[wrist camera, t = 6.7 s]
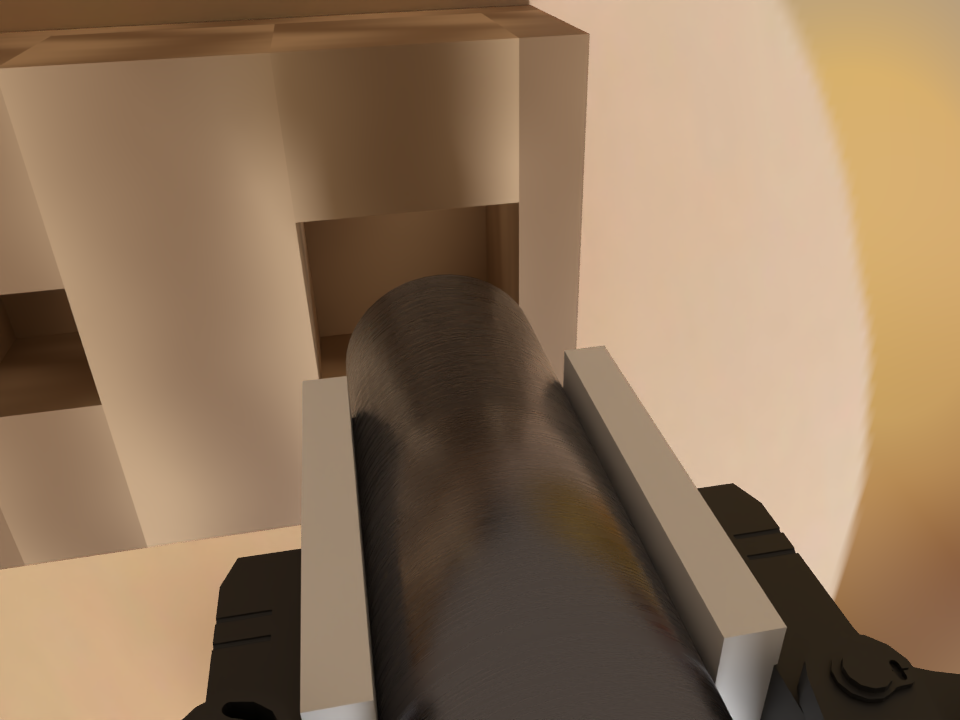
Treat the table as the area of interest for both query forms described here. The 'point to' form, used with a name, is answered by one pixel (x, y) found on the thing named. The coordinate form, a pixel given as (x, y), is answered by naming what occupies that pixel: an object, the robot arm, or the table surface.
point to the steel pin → (499, 529)
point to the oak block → (252, 243)
